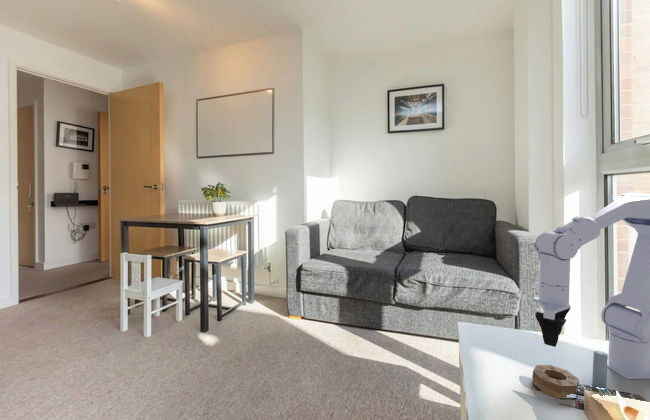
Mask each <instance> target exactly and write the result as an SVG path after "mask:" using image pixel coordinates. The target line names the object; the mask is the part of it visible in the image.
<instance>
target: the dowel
mask: <svg viewBox="0 0 650 420" xmlns="http://www.w3.org/2000/svg"><path fill="white" fill-rule="evenodd" d="M608 357H609V354H608V353H606V352H604V351H601V350H593V358H592V379H591V381H592V382H591V383H592V384H591V385H592V387H593V388H594V387H599V388H606V389H607V381H608V380H607V379H608V378H607V377H608V367H607V361H608Z"/></svg>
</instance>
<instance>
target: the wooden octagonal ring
mask: <svg viewBox="0 0 650 420" xmlns="http://www.w3.org/2000/svg"><path fill="white" fill-rule="evenodd" d="M579 381H580V380H579V378H578V376H577V377H576V375H574V374H573V373H571V372H570V371H569V370H567V369H564V368H561V367H558V366H554V365H552V364H536V365H535V366H534V368H533V370H532V384H533V385H534V383H536V384H537V385H538V386H539V387H540V389H541V391H542V392H541V391H540V392H541V393H543V394H546V395H549V396H550V397H554V398H557V399H559V398H563V397H565V396H567V395H570V394H573V393H576V392H577V389H578V390H579V387H578V386H579V385H580V384H579Z"/></svg>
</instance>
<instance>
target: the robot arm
mask: <svg viewBox="0 0 650 420" xmlns="http://www.w3.org/2000/svg"><path fill="white" fill-rule="evenodd" d="M620 221H624V223H626V225H628V226H629V227H631V228H633V229H634V230H635V231H636V233H637V237H636V240H635V244H634V247H633V251H632V255H631V258H630V261H629V265H628V268H627V272H626V275H625V279H624V283H623V286H622V289H621V292H620V293H618V294H615V295H612V296H610V297H609V298H608V300H607V303H606V305H605V306H604V307H603V308H602V310H601V313H600V314H601V315H600V316H601V317H600V318H601V321H602V322H603V324H605V325H606V330H608V331H609V336H608V337H609V338H608V340H609V341H608V342H609V343H608V361H607V368H608V369H610V370H612V371H614V373H616V374H618V375H619V376H621V377H623V378H624V379H627V380H650V193H649V194H647V193H644V194H643V193H636V194H635V193H622V194H619V195H618V196H615V197H613V198H612V201H611V203H609V204H608V205H606V206H605V207H602V209H600V210H599V211H597V212H595V213H594V214H592V215H590V217H587V216H574V217H573V218H571V221H569V222H568V223H566V224H564V225H562V226H558V227H556V229H554V230H553V231H544V232H542V233H541V234H539V235H538V237H536V240H535V242H533V247H534V250H535V252H536V253H537V259H538V261H539V288H538V289H539V291H538V292H539V294H538V295H539V296H534V297H533V298H532V300H533V302H534V303H538V304H539V307H541V309H542V310H543V312H540V311H536V312H535V314H534V316H535V319H536V321H537V323H538V325H539V328H540V330H541V335H542V339H543V343H544V345H547V346H549V347H553V348H556V347H557V344H558V341H559V336H560V335H561V333H562V329H563V327H564V325H565V323H566V322H567V319H565V318H566V316H567V314H568V313H569V312H570V310H571V303H570V277H571V259H574V258H575V257H576V255H577V254H578V251H579V250H580V249H581V248H582V247H583V246H584V245H586V244H588V243H589V242H591V241H594V240H595V239H597V238H598V237H599V236H600V235H601V230H603V229H605V228H608V227H609V226H611V225H613V224H616V223H618V222H620Z"/></svg>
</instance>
